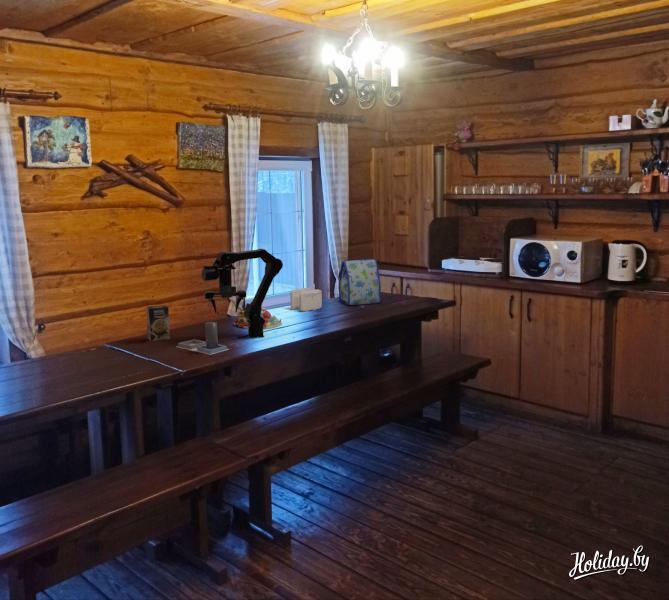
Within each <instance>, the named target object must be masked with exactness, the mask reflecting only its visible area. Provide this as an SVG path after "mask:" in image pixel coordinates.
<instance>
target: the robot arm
mask: <svg viewBox="0 0 669 600" xmlns="http://www.w3.org/2000/svg"><path fill="white" fill-rule="evenodd" d="M254 259H261V261H262V262H263V263H264V264H265V267H264V274H263V277H262V279H261V282H260V284H259V286H258V288H257V290H256V293H255V295H254V297H253V299H252V301H251V302H250V303H248V302H247V303H246V304H245V307H244V308H243V309H242V310H243V311H244V317H245V318H246V319H247V321H248V322H249V326H248V328H247V333H248V334H247V335H248V337H250V338H252V339H253V338H264V337H265V335H264V330H263V324H264V323H265V320H264V319H263V318H262V317H261V316H260V315H261V310H262V305H263V304H264V300H265V298H266V297H267V294H268V292H269V290H270V287H271V284H272V282H273V281H274V278H276V276H277V275H278V274H279V273H280V271H281V270H282V269H283V267H284V264H283V261H282V259H281V258H277V257H275V256H274V255H272V254H271V253H269V252H268V251H267V250H266V249H265V248H258V249H250V250H245V251H244V250H243V251H238V252H235V251H234V252H232V251H220V252H218V254H217V255H216V259H215V260H214V262H213V263H212V265H203V266H202V271H201V279H202V281H204V282H208V281H217V279H218V292H214V290H208V291H207V290H206V291H204V299H205V300H207V301H208V302H210V303H211V304H212V307H213V310H214V313H215V314H217V306H216V300H215V298H216V297H217V298H218V297H220V298H222V299H225V298H228V299H229V298H233V297H235V306H234V307H235V309H234V310H235V314H236V313H237V314H238V309H239V306H240V303H241V302H242V300H244V299H245V298H246V299H247V297H248V296H247V291H246V290H245V289H239V290H238V289H237V286H236V285H235V286H232V270H236V267H235V266H234V265H233V264H235V263H238V262H241V261H247V260H254Z"/></svg>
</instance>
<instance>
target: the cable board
mask: <svg viewBox="0 0 669 600" xmlns="http://www.w3.org/2000/svg"><path fill="white" fill-rule="evenodd" d="M175 347H176V348H178V349H183V350H188V351H192V352H197V353H201V354H205V355H210V356H208V357H213V355H215V354H218V353H222V352H225V351H228V350H230V348H228V347H227V345H225V344H224V345H223V344H220V343H219V344H218V348H215V349H212V350H211V349H206V340H200V339H196V338H195V339H194V338H193V339H190V340H185V341H181V342H178V343H177V346H175Z"/></svg>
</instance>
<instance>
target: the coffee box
mask: <svg viewBox="0 0 669 600" xmlns="http://www.w3.org/2000/svg"><path fill="white" fill-rule="evenodd" d="M145 311H146V323H147V324H146V325H147V340H149V341H150V342H154V341H155V342H156V341H159V340H160V341H162V340H170V339H171V335H170V334H171V332H170V317H169V316H170V315H169V314H170V313H169V312H170V311H169V306H168V305H165V304H164V305H153V306H152V305H151V306H146V310H145Z"/></svg>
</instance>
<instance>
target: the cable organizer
mask: <svg viewBox="0 0 669 600" xmlns="http://www.w3.org/2000/svg"><path fill="white" fill-rule="evenodd" d="M289 293H290V294H289V296H290V309H292V310H294V311H297V310H300V311H301V312H304V313H306V312H309V311H318V310H317V309H321V308H322V307H323V298H322V297H323V294H322V293H323V292H322V290H321V289H311V288H309V287H304V288H302V287H301V288H295V289H292V290H290V292H289Z"/></svg>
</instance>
